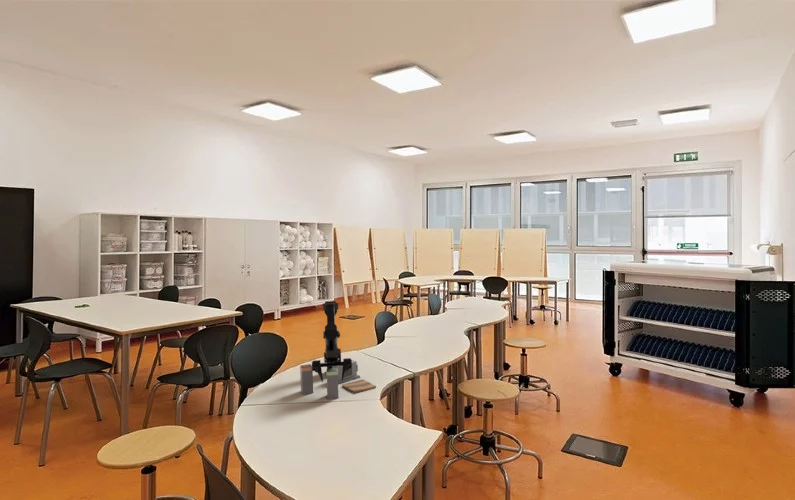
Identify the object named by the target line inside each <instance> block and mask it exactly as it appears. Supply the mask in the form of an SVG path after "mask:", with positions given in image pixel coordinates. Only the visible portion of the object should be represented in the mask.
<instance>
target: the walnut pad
mask: <svg viewBox="0 0 795 500" xmlns="http://www.w3.org/2000/svg"><path fill="white" fill-rule="evenodd" d="M341 387H342V388H344V389H346V390H348V391H349V392H351V393H353V394H359V393H362V392H366V391H369V390H370V391H371V390H373V389H376V388H377V386H376V385H374V384H373V383H371V382H369V381H368V380H365V379H359V380H356V381H355V380H354V381H352V382H347V383H342V385H341Z"/></svg>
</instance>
